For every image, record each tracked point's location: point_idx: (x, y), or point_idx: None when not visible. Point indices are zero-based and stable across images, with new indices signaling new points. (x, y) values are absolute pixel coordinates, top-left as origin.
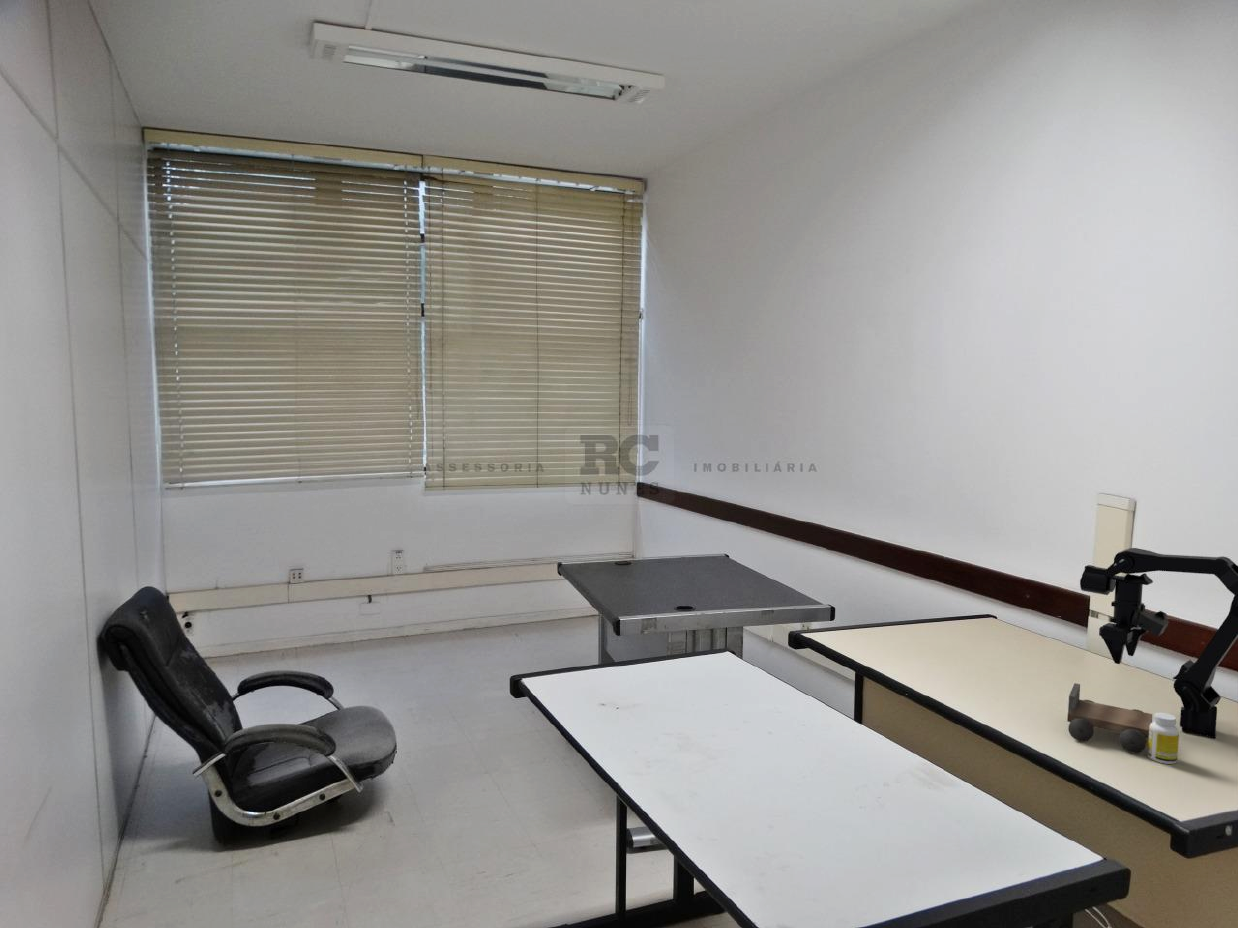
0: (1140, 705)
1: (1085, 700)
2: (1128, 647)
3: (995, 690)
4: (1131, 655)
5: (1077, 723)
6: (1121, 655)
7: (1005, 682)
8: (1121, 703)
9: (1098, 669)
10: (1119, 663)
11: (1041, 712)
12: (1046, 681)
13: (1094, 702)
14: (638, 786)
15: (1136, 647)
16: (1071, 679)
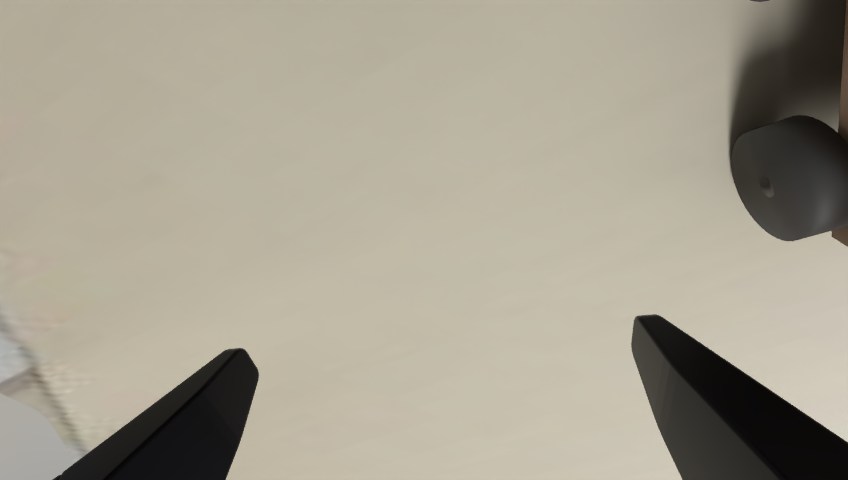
0: (309, 137)
1: (829, 220)
2: (216, 454)
3: (639, 439)
4: (246, 358)
5: None
6: (782, 407)
7: (539, 448)
8: (369, 192)
9: (157, 374)
10: (661, 318)
11: (762, 300)
12: (416, 403)
13: (807, 181)
14: None
15: (134, 422)
16: (322, 378)
